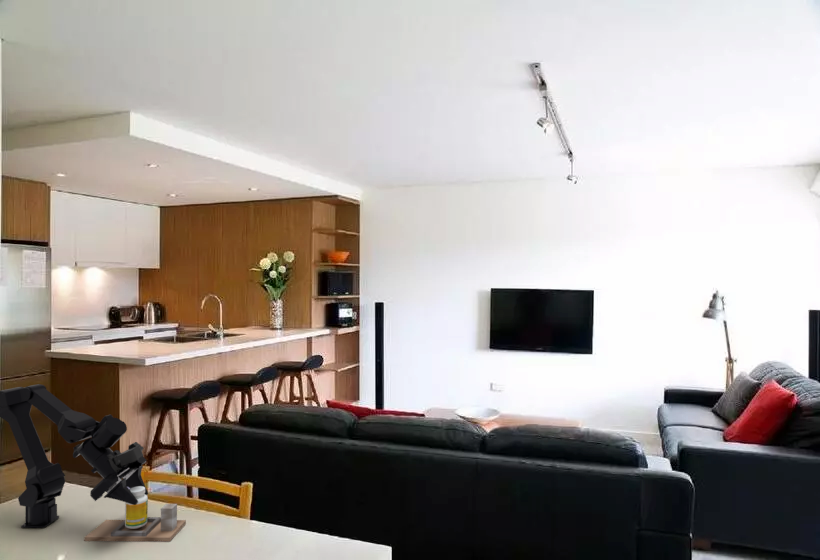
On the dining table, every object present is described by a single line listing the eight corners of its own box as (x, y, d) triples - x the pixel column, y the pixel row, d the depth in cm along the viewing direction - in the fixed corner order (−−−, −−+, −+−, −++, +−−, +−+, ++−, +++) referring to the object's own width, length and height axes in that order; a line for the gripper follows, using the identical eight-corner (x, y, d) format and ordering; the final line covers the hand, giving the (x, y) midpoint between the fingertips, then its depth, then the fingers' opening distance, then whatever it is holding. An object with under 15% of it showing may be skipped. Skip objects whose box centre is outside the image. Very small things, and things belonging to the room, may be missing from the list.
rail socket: (84, 540, 138) (84, 513, 138) (106, 523, 148) (106, 498, 148) (170, 541, 138) (170, 514, 138) (185, 523, 148) (186, 498, 148)
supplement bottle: (123, 523, 144) (123, 488, 144) (144, 518, 147) (145, 483, 147) (127, 531, 140) (127, 494, 140) (149, 525, 143) (150, 489, 143)
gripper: (103, 447, 134) (146, 492, 134) (140, 426, 152) (178, 466, 153) (71, 478, 134) (114, 523, 134) (112, 453, 152) (150, 493, 153)
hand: (141, 499), depth 143 cm, fingers closed on supplement bottle, 5 cm apart
